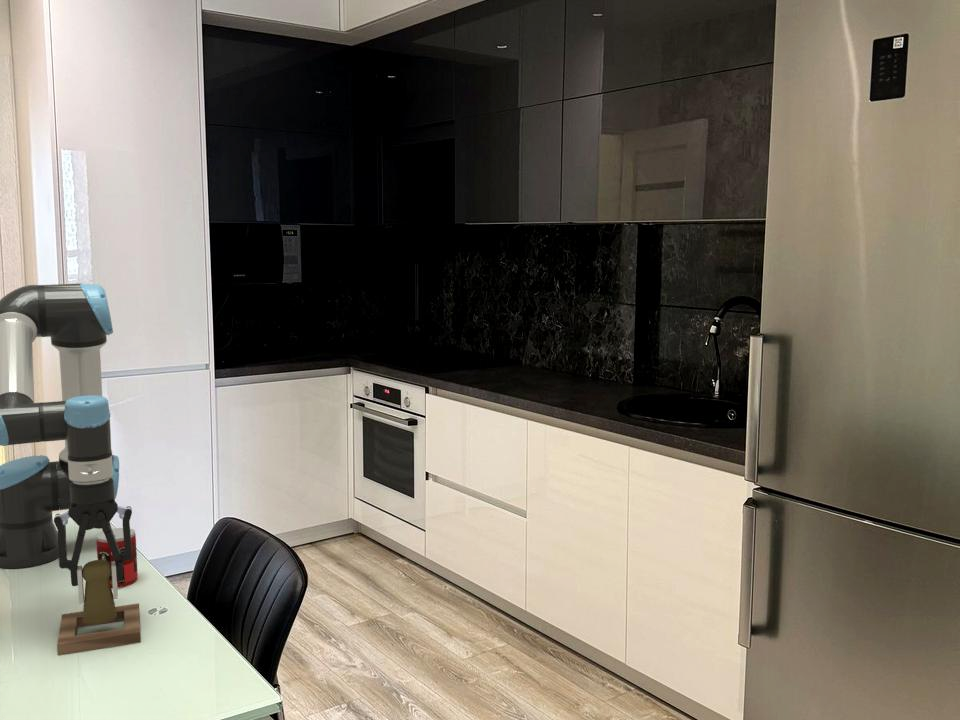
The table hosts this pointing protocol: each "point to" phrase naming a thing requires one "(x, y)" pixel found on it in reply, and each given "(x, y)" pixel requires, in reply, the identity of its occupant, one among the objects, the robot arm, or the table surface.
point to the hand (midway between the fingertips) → (98, 598)
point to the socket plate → (79, 643)
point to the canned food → (129, 565)
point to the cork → (98, 593)
